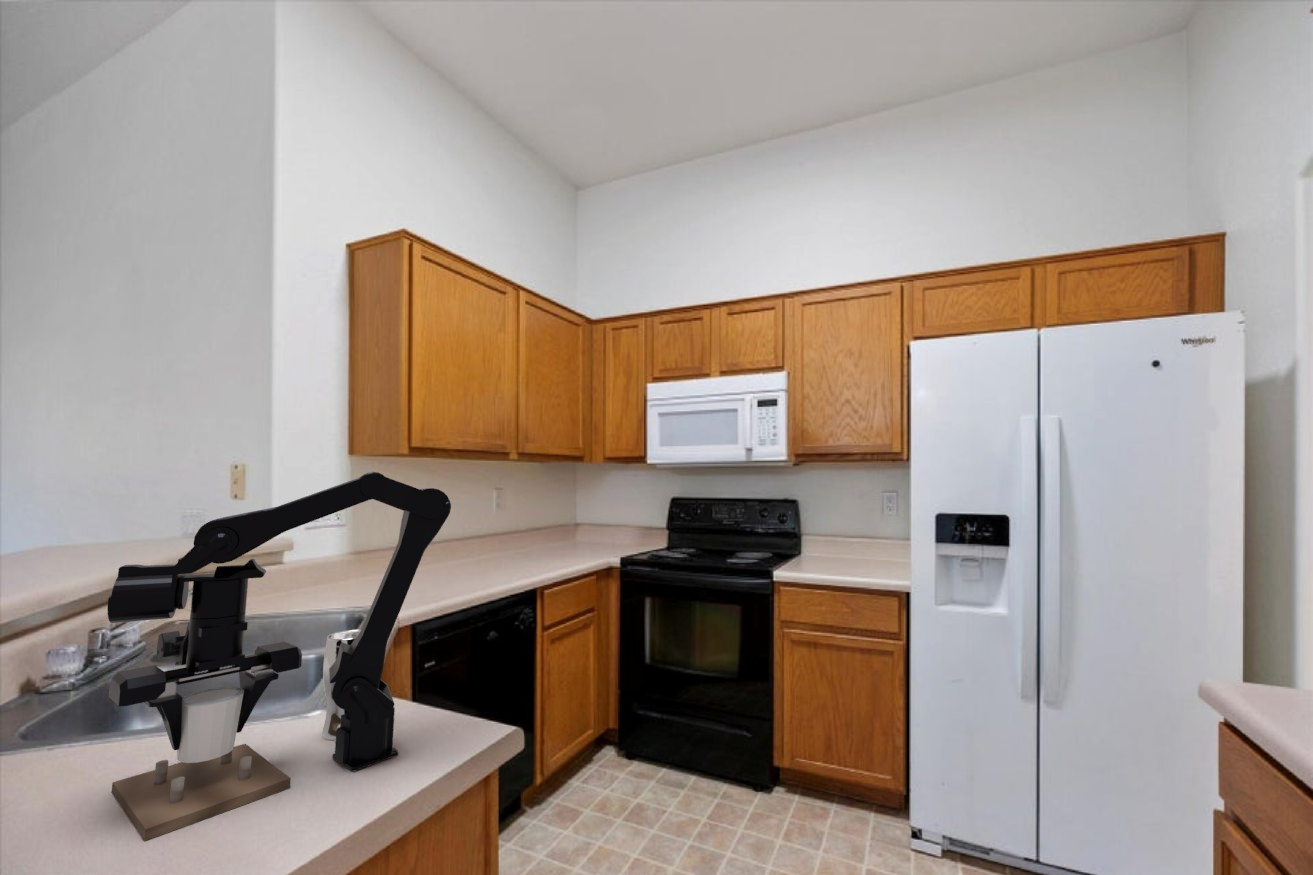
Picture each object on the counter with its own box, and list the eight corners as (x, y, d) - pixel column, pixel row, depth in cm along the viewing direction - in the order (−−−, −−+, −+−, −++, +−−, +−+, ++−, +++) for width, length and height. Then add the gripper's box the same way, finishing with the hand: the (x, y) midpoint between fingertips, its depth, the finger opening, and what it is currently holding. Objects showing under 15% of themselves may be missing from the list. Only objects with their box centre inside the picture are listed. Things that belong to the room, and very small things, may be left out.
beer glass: (323, 746, 83) (330, 642, 85) (313, 731, 88) (321, 633, 90) (374, 733, 88) (380, 635, 89) (362, 719, 93) (368, 627, 95)
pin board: (244, 752, 81) (246, 726, 81) (289, 787, 71) (292, 758, 72) (111, 792, 70) (114, 761, 70) (144, 840, 60) (148, 805, 61)
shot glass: (251, 746, 73) (256, 690, 74) (190, 770, 67) (196, 708, 67) (220, 736, 76) (225, 683, 76) (158, 758, 69) (164, 699, 70)
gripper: (275, 596, 85) (267, 704, 83) (106, 618, 70) (92, 748, 69) (307, 606, 78) (299, 722, 77) (127, 631, 64) (112, 776, 62)
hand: (207, 740), depth 71 cm, fingers closed on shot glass, 6 cm apart
